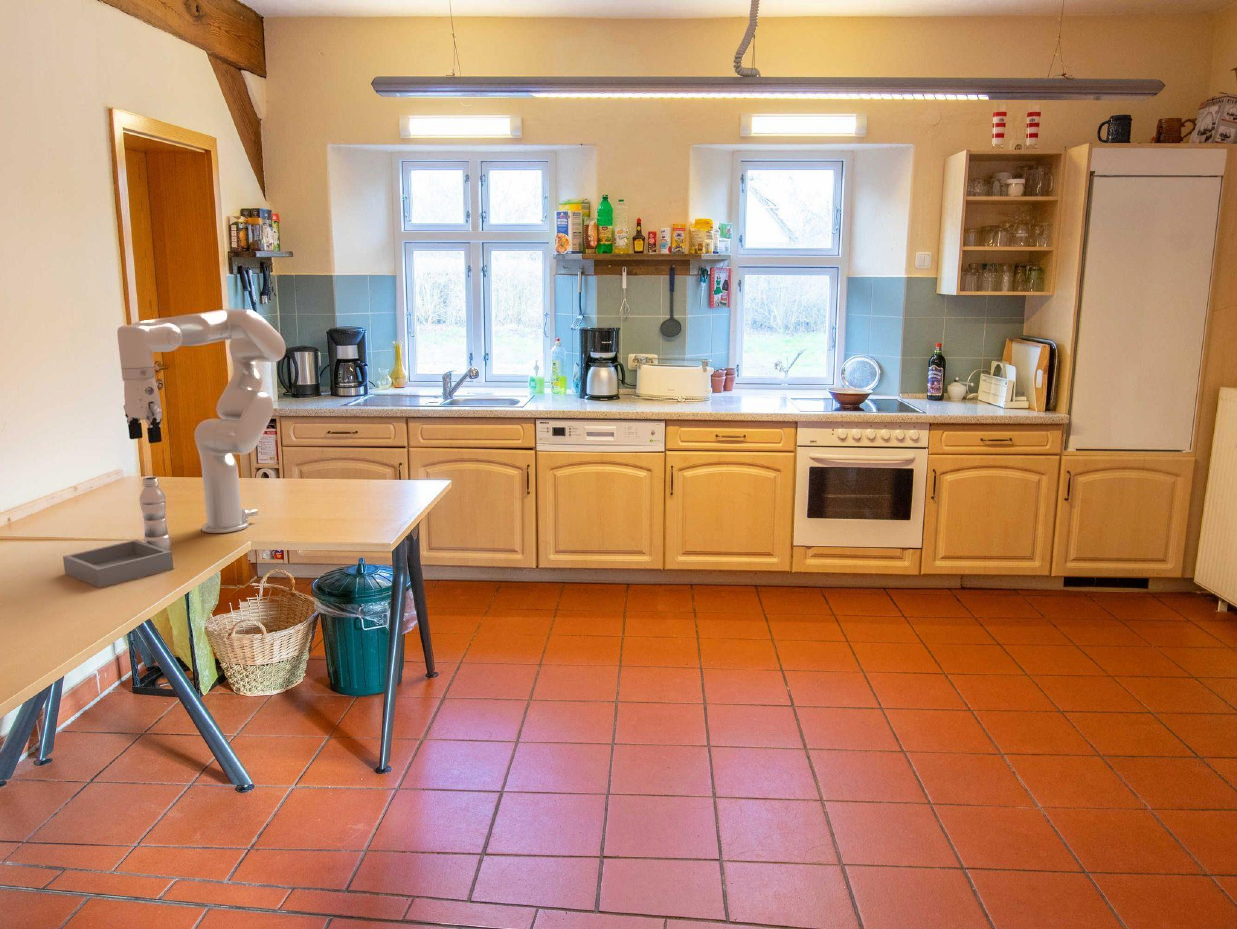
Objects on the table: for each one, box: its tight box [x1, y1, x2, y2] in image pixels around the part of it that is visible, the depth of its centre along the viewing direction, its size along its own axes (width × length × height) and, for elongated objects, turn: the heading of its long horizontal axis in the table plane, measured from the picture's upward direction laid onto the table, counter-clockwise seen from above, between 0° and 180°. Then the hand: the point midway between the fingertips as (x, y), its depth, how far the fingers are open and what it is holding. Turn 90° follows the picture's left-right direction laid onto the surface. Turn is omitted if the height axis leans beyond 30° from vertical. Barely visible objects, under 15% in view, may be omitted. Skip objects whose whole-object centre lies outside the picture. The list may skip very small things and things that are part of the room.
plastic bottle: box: [138, 476, 172, 551], centre depth 255 cm, size 6×7×20 cm
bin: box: [62, 539, 175, 589], centre depth 241 cm, size 18×18×4 cm
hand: (145, 440), depth 251 cm, fingers open, 9 cm apart
